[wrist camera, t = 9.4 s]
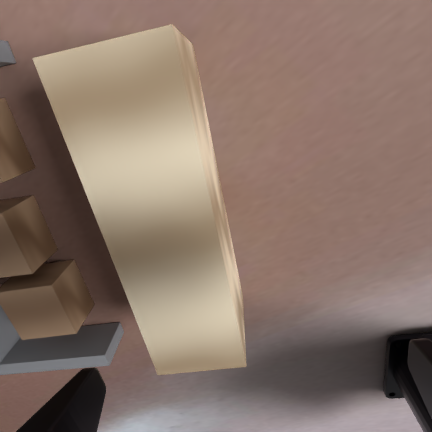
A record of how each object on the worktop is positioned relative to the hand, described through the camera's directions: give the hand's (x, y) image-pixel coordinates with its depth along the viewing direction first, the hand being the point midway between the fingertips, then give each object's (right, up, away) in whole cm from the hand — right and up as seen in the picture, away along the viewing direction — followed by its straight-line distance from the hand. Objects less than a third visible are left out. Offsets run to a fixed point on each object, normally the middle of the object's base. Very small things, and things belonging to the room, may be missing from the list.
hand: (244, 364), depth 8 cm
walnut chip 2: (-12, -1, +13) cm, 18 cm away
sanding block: (-3, +5, +10) cm, 12 cm away
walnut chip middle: (-14, +4, +11) cm, 18 cm away
